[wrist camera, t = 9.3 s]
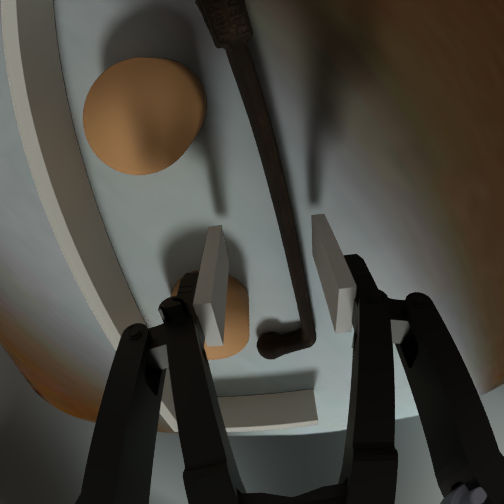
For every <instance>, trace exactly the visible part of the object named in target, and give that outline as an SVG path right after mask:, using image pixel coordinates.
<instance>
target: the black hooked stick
mask: <svg viewBox="0 0 504 504" xmlns="http://www.w3.org/2000/svg"><path fill="white" fill-rule="evenodd" d="M196 4H197V6H198V8H199V10H200V11H201V13H202V15H203V18H204V21H205V23H206V25H207V27H208V29H209V31H210V34H211V36H212V39H213V41H214V44H215V46H216V47H217V48H221V47H222V48H224V49H225V50H226V53H227V57H228V60H229V62H230V65H231V68H232V71H233V74H234V77H235V80H236V82H237V85H238V88H239V91H240V94H241V97H242V100H243V103H244V106H245V109H246V112H247V115H248V118H249V121H250V124H251V127H252V131H253V134H254V137H255V141H256V144H257V147H258V151H259V154H260V158H261V161H262V165H263V168H264V172H265V176H266V179H267V183H268V187H269V191H270V194H271V198H272V202H273V206H274V209H275V213H276V217H277V221H278V225H279V229H280V233H281V238H282V242H283V246H284V250H285V254H286V259H287V263H288V267H289V272H290V276H291V280H292V285H293V289H294V293H295V298H296V302H297V307H298V311H299V316H300V320H301V324H302V327H301V328H300V329H299V330H297V331H294V332H291V333H287V334H283V335H280V334H277V333H274V332H268V333H265V334H263V335H262V336H261V337H260V338H259V339H258V342H257V349H258V352H259V353H260V355H261V356H263V357H264V358H266V359H275V358H278V357H280V356H281V355H284V354H288V353H291V352H294V351H298V350H301V349H305V348H309V347H311V346H312V345H313V344H314V343H315V341H316V331H315V327H314V323H313V318H312V311H311V305H310V300H309V294H308V288H307V283H306V278H305V273H304V267H303V262H302V257H301V252H300V246H299V242H298V236H297V232H296V227H295V222H294V218H293V213H292V208H291V204H290V199H289V195H288V190H287V186H286V181H285V177H284V173H283V169H282V164H281V160H280V156H279V152H278V148H277V144H276V140H275V136H274V132H273V128H272V124H271V120H270V117H269V113H268V110H267V106H266V103H265V99H264V96H263V92H262V89H261V86H260V82H259V79H258V76H257V73H256V69H255V66H254V63H253V60H252V57H251V54H250V51H249V49H248V46H247V43H246V42H247V39H248V38H249V37H252V36H253V31H252V27H251V23H250V20H249V17H248V13H247V9H246V6H245V2H244V0H196Z"/></svg>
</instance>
